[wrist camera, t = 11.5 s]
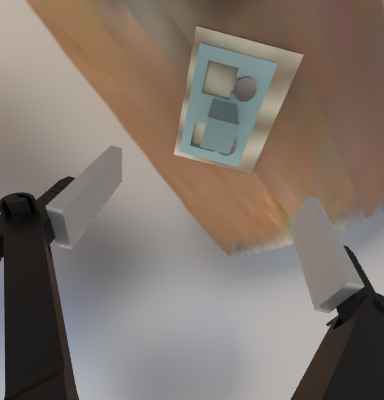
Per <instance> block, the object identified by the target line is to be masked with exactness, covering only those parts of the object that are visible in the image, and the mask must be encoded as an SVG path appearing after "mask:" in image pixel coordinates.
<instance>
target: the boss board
mask: <svg viewBox="0 0 384 400" xmlns="http://www.w3.org/2000/svg"><path fill="white" fill-rule="evenodd" d="M200 43H205V44H208V45H212V46H216V47H220V48H223V49H227V50H231V51H234V52H238V53H242V54H246V55H249V56H253V57H257V58H261V59H264V60H268V61H272V62H275V63H277V67H276V69H275V72H274V75H273V77H272V80H271V82H270V85H269V87H268V90H267V93H266V95H265V98H264V100H263V103H262V105H261V108H260V111H259V113H258V116H257V118H256V121H255V123H254V126H253V129H252V131H251V134H250V136H249V139H248V141H247V144H246V147H245V149H244V152H243V154H242V157H241V159H240V162H239V165H238V167H236V166H232V165H228V164H224V163H220V162H217V161H213V160H209V159H205V158H201V157H197V156H194V155H190V154H186V153H182V152H179V151H180V146H181V140H182V135H183V130H184V125H185V119H186V114H187V109H188V103H189V98H190V93H191V88H192V82H193V77H194V72H195V67H196V61H197V56H198V51H199V45H200ZM303 56H304V55H302V54H299V53H295V52H291V51H287V50H284V49H280V48H276V47H272V46H269V45H265V44H261V43H258V42H254V41H250V40H246V39H243V38H239V37H235V36H232V35H228V34H224V33H220V32H217V31H213V30H209V29H206V28H202V27H198V26H196V31H195V36H194V42H193V48H192V54H191V59H190V65H189V71H188V77H187V82H186V88H185V94H184V99H183V105H182V111H181V117H180V122H179V128H178V134H177V140H176V145H175V151H174V155H178V156H182V157H186V158H190V159H193V160H197V161H201V162H205V163H209V164H213V165H217V166H220V167H224V168H228V169H232V170H236V171H240V172H243V173H247V174H251V173H252V171H253V169H254V167H255V164H256V162H257V160H258V157H259V155H260V153H261V151H262V148H263V146H264V144H265V142H266V139H267V137H268V135H269V133H270V130H271V128H272V126H273V124H274V121H275V119H276V117H277V115H278V112H279V110H280V108H281V106H282V103H283V101H284V99H285V97H286V94H287V92H288V90H289V88H290V85H291V83H292V81H293V78H294V76H295V74H296V72H297V69H298V67H299V65H300V63H301V60H302V58H303ZM237 70H238V68H237V67H233V66H229V65H225V64H222V63H218V62H214V61H210V60H209V64H208V68H207V73H206V77H205V82H204V87H203V91H204V92H208V93H212V94H216V95H219V96H223V97H227V98H229V97H230V94H231V91H234V95H235V97H236V98H237V99H238V100H239V101H241V102H247V101H249V100H251V99H252V98H253V97H254V96H255V94H256V90H257V87H256V84H255V82H254V80H253V79H252V78H250V77H242V78H239V77H236V73H237ZM205 126H206V124H203V123H199V122H196V123H195V127H194V132H193V136H192V141H191V142H192V143H196V144H200V145H201V142H202V138H203V134H204V130H205ZM235 149H236V142H235V140H234V142H233V144H232V147H231V150H230V153H229V154H225V153H222V152H219V153H220V154H221V155H223V156H229V155H231V154H233V153H234V151H235Z"/></svg>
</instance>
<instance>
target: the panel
mask: <svg viewBox="0 0 384 400" xmlns="http://www.w3.org/2000/svg"><path fill="white" fill-rule="evenodd" d="M209 60H210V61H214V62H218V63H222V64H225V65H229V66H233V67H237V68H238V70H237V73H236V77H239V78H242V77H250V78H252V79H253V80H254V82H255V84H256V87H257V90H256V94H255V96H254V97H253V98H252V99H251V100H249V101H247V102H241V101H239V100H238V99H237V98H236V97H235V95H234V91H231V94H230V97H229V98H227V97H223V96H219V95H216V94H212V93H208V92H204V91H203V87H204V82H205V77H206V73H207V68H208V64H209ZM276 67H277V63H275V62H272V61H268V60H264V59H261V58H257V57H253V56H249V55H246V54H242V53H238V52H234V51H231V50H227V49H223V48H220V47H216V46H212V45H208V44H205V43H200V45H199V51H198V56H197V61H196V67H195V72H194V77H193V82H192V88H191V93H190V98H189V103H188V109H187V114H186V119H185V125H184V130H183V135H182V140H181V146H180V151H179V152H182V153H186V154H190V155H194V156H197V157H201V158H205V159H209V160H213V161H217V162H220V163H224V164H228V165H232V166H236V167H238V165H239V162H240V159H241V157H242V154H243V152H244V149H245V147H246V144H247V141H248V139H249V136H250V134H251V131H252V129H253V126H254V123H255V121H256V118H257V116H258V113H259V111H260V108H261V105H262V103H263V100H264V98H265V95H266V93H267V90H268V87H269V85H270V82H271V80H272V77H273V75H274V72H275V69H276ZM196 122H199V123H203V124H206V126H205V130H204V134H203V138H202V142H201V145H200V144H196V143H192V142H191V141H192V136H193V132H194V127H195V123H196ZM234 140H235V142H236V149H235V151H234V153H233V154H231V155H229V156H223V155H221V154H220V153H219V152H222V153H225V154H229V153H230V150H231V147H232V144H233V142H234Z"/></svg>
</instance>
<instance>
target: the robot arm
mask: <svg viewBox="0 0 384 400" xmlns="http://www.w3.org/2000/svg"><path fill="white" fill-rule="evenodd" d="M121 182H122V148H118V147H114V146H110V147H109V148H108V149H107V150H106V151H105V152H104V153H102V154H101V155H100V156H99V157H98V158H97V159H96V160H95V161H94V162H93V163H92V164H91V165H89V166H88V167H87V168H86V169H85V170H84V171H83V172H82V173H81V174H80V175H79V176H78V177H77V178H73V177H69V176H68V177H66V178H64V179H61V180H59V181H58V182H57V183H56V184H55V185H54V186H53V187H51V188H50V189H49V190H48V191H46V192H45V193H44V194H43V195H42V196H41V197H39V198H38V199H37V200H35V198H34V196H33V195H31V194H29V193H14V194H9V195H7V196H5V197H3V198H2V199H1V200H0V212H1V214H0V261H1V259H2V257H4V298H5V299H4V305H5V306H4V307H5V398H4V400H79V398H78V394H77V390H76V385H75V381H74V374H73V369H72V363H71V358H70V352H69V347H68V341H67V335H66V330H65V324H64V319H63V314H62V308H61V303H60V297H59V291H58V286H57V280H56V275H55V269H54V264H53V258H52V252H51V248H50V243H51V242H52V241H53V240H54V239H55V241H56V245H57V246H60V247H64V248H68V249H72V248H73V246H74V245H75V243H76V242H77V241H78V239H79V238H80V237H81V236H82V234H83V233H84V232H85V230H86V229H87V227H88V226H89V225H90V223H91V222H92V221H93V219H94V218H95V217H96V215H97V214H98V213H99V211H100V210H101V208H102V207H103V206H104V204H105V203H106V202H107V201H108V199H109V198H110V196H111V195H112V194H113V192H114V191H115V190H116V188H117V187H118V186H119V184H120V183H121ZM289 226H290V230H291V233H292V236H293V240H294V243H295V246H296V250H297V253H298V256H299V260H300V263H301V266H302V269H303V273H304V276H305V279H306V283H307V286H308V289H309V293H310V296H311V299H312V302H313V306H314V309H315V310H317V311H321V312H325V313H330V312H331V311H333V310H334V309H335V308H336V309H337V312H338V314H339V315H338V316H336V317H335V318H334V319H332V320H331V321H330V322H328V323H327V324H326V325H327V326H329V325H330V324H331V326H330V328H329V330H328V331H327V333H326V335H325V337H324V339H323V341H322V342H321V344H320V346H319V348H318V350H317V352H316V354H315V355H314V357H313V359H312V361H311V363H310V365H309V367H308V369H307V370H306V372H305V374H304V376H303V378H302V380H301V381H300V383H299V385H298V387H297V389H296V391H295V393H294V394H293V397H292V398H291V400H384V296H382V295H380V294H378V293H376V292H375V291H374V289H373V287H372V285H371V283H370V282H369V280H368V278H367V276H366V274H365V273H364V271H363V270H362V267H361V265H360V264H359V263H358V260H357V258H356V257H355V255H354V253H353V252H352V251H351V250H350V249H349V248H348V247H347V246H344V245H343V244H342V242H341V241H340V239H339V237H338V235H337V233H336V231H335V229H334V227H333V225H332V223H331V222H330V220H329V218H328V216H327V214H326V212H325V210H324V208H323V206H322V205H321V203H320V201H319V199H318V198H314V197H310V196H307V197H306V199H305V200H304V202H303V203H302V205H301V206H300V208H299V209H298V211H297V212H296V214H295V215H294V217H293V218H292V220H291V221H290V222H289Z"/></svg>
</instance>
